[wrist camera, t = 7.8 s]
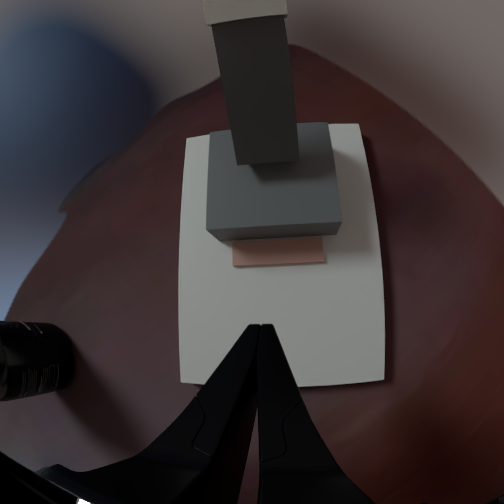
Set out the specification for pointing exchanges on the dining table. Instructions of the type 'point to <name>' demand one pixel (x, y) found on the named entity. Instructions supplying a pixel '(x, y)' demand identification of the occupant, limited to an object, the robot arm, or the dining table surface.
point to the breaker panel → (282, 257)
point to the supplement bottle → (33, 359)
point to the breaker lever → (255, 78)
